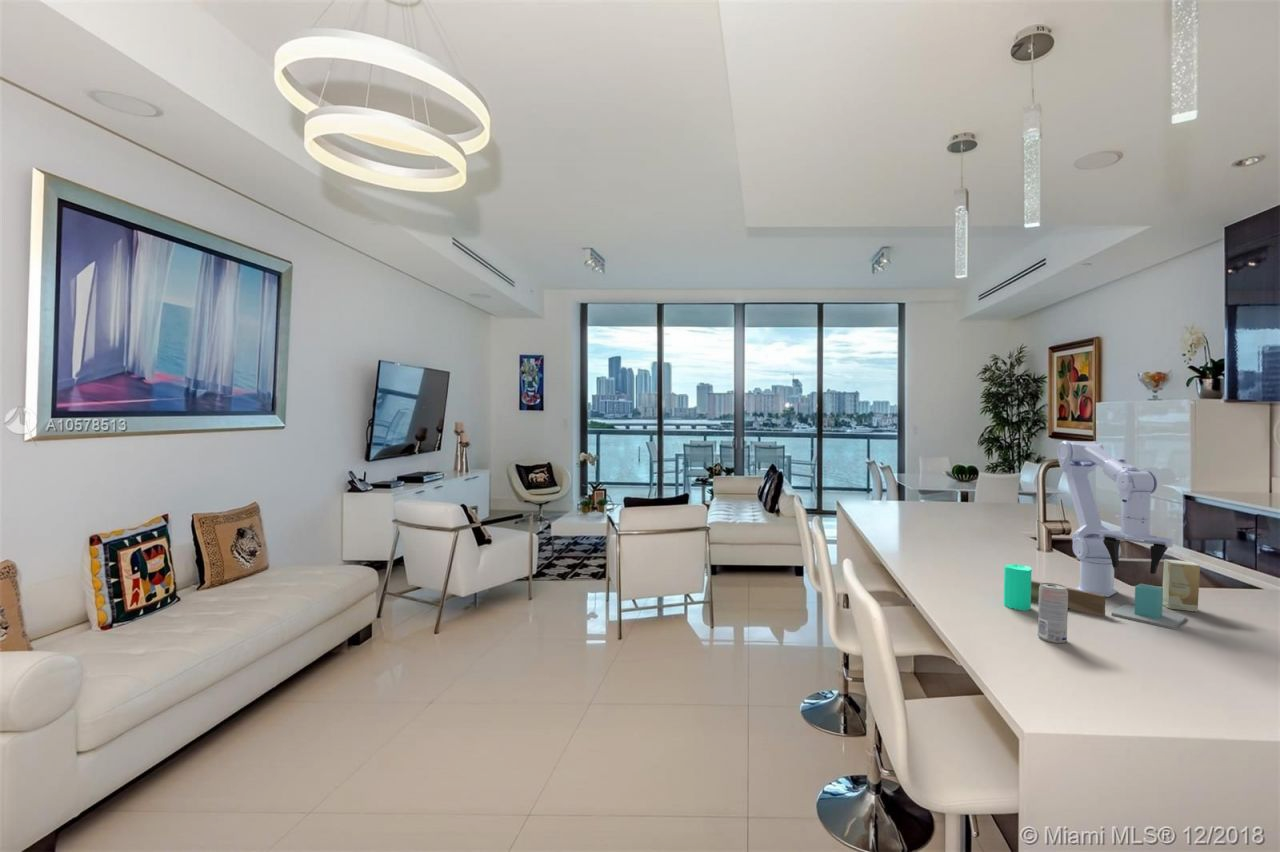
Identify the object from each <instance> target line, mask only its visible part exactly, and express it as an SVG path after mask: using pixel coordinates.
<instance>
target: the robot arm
mask: <svg viewBox="0 0 1280 852" xmlns="http://www.w3.org/2000/svg"><path fill="white" fill-rule="evenodd" d="M1057 447H1058V448H1057V452H1056V457H1057V460H1058V464H1059V467H1060V470H1061V471H1062V472H1064V474H1065V475H1064V476H1065V478H1066V481H1067V482H1066V483H1067V484H1068V489H1069V492H1070V497H1071V499H1072V503H1073V507H1074V510H1075V513H1076V514H1075V515H1076V517H1077V521H1078V526H1079V528H1078V529H1077V530H1075V531H1074V533H1072V534H1071V539H1072V552H1073V554H1074V555H1075V556H1076V558H1077V559H1078V560H1079V585H1078V586H1076V587H1075V588H1074V589H1076V590H1081V591H1086V592H1091V593H1096V594H1101V595H1106V598H1109V597H1111V596H1113V595H1115V594H1116V593H1118V592H1119V590H1118V589H1115V568H1118V567H1119V564H1120V563H1119V562H1120V559H1119V557H1121V554H1122V549H1121V547H1122V546H1121V545H1120V543H1121V541H1125V542H1133V543H1140V544H1145V545H1146V544H1147V545H1151V546H1150V547H1149V548H1150V568H1149V569H1150V574H1153V575H1155V574H1156V573H1157V571H1158V569H1157V568H1158V566H1159V563H1160V562H1161V559H1162V558H1163V556H1164V554H1165V552H1167V550H1168V548H1172V547H1174V545H1173V544H1174V543H1173V542H1174V539H1173V538H1168V537H1163V536H1157V535H1151V534H1150V530H1151V498H1152V497H1151V496H1152V495H1151V494H1153V493H1155V492H1156V490H1157V487H1158V480H1157V479H1158V478H1157V477H1156V475H1155V474H1154V473H1153V472H1152V471H1150V470H1140V469H1139V468H1137V467H1136V466H1134V465H1132V464H1131V463H1129V462H1128V461H1127V460H1126V458H1124V457H1113V456H1112V455H1111V454H1109V453H1108V451H1105V448H1104V447H1105V446H1104V445H1103V444H1102V443H1100V442H1099V441H1096V440H1094V441H1093V440H1092V441H1079V440H1078V441H1075V440H1074V441H1073V440H1072V441H1069V440H1063V441H1061V442H1060V443H1059V445H1058V446H1057ZM1098 466H1100V467H1101V468H1102V472H1103V473H1104V475H1106V476H1107V477H1108V478H1109V479H1111V480H1112V481H1113V482H1115V483H1116V488H1117V490H1118V497H1119V499H1121V513H1120V515H1121V518H1120V530H1119V531H1117V530H1110V529H1109V528H1108V527H1107V528H1106V527H1105V526H1104V525H1102V521H1101V518H1100V514H1099V511H1098V507H1097V505H1096V504H1097V503H1096V501H1095V498H1094V494H1093V491H1092V487H1091V483H1090V480H1089V477H1088V474H1090V473H1092V472H1094V471H1095V470H1096V468H1097V467H1098Z"/></svg>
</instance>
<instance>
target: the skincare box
mask: <svg viewBox="0 0 1280 852" xmlns="http://www.w3.org/2000/svg"><path fill="white" fill-rule="evenodd" d="M1162 571H1163V573H1162V574H1163V575H1162V586H1161V587H1163V606H1164V607H1166V608H1168V609H1169V610H1171V609H1172V610H1179V611H1189V612H1194V611H1195V612H1196V613H1197V612H1198V610H1199V607H1198V606H1199V593H1200V590H1199V589H1200V574H1201V573H1200V572H1201V566H1200V565H1199V564H1197V563H1195V562H1193V561H1185V560H1176V559H1166V558H1165V559H1164V560H1163V570H1162Z"/></svg>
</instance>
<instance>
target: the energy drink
mask: <svg viewBox="0 0 1280 852" xmlns="http://www.w3.org/2000/svg"><path fill="white" fill-rule="evenodd" d="M1067 588H1068V587H1067V586H1065V585H1063V584H1059V583H1053V582H1042V583H1041V584H1040V586H1039V602H1038V610H1037V612H1038V613H1037V615H1038V616H1037V617H1038V618H1037V636H1038V637H1039V639H1040V640H1043V641H1044V642H1045V641H1046V642H1049V643H1052V644H1054V643H1055V644H1064V643H1067V641H1068V612H1069V611H1068V610H1069V609H1068V590H1067Z"/></svg>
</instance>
